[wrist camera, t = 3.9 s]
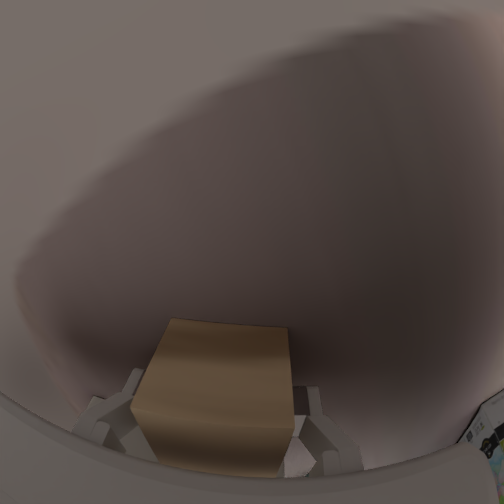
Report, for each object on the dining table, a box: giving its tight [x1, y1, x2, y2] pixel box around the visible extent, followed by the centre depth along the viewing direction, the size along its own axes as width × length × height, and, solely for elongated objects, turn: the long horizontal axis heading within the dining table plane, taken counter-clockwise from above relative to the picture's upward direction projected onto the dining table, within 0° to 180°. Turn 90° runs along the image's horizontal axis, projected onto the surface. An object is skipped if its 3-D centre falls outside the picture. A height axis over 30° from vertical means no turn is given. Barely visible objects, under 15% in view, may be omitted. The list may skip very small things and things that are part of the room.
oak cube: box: [130, 318, 295, 478], centre depth 10 cm, size 5×5×5 cm
